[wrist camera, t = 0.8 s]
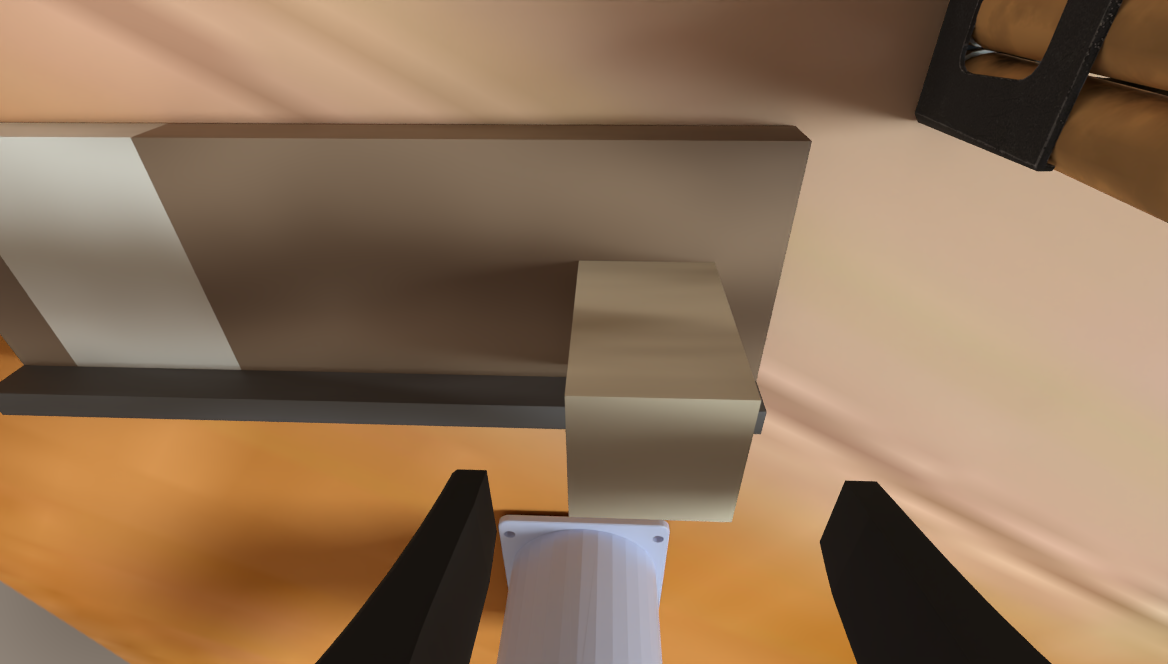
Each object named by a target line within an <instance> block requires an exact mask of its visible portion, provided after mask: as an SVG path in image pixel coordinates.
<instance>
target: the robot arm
mask: <svg viewBox="0 0 1168 664" xmlns="http://www.w3.org/2000/svg"><path fill="white" fill-rule="evenodd" d="M498 528H499V534H500V540H501V547H502V553H503V559H504V565H505V572H506V578H507V584H508V596H507V603H506V609H505V615H504V621H503V627H502V634H501V640H500V646H499V652H498V658H497V664H662V653H661V639H660V625H659V612H658V611H659V604H660V597H661V590H662V582H663V575H664V568H665V561H666V554H667V547H668V540H669V533H670V531H669V524H668V523H667V522H666V521H664V520H649V519H617V518H586V517H565V516H534V515H505V516H502V517H501V518H500V520H499V526H498ZM496 532H497V530H496V524H495V518H494V512H493V506H492V500H491V494H490V488H489V482H488V476H487V470H456V471H455V472H453V473H452V475H451V477H450V478H449V480H448V482H447V484H446V485H445V487H444V489H443V491H442V492H441V494H440V496H439V497H438V499H437V500H436V502H435V504H434V505H433V507H432V509H431V510H430V512H429V513H428V515H427V516H426V518H425V520H424V521H423V523H422V524H421V526H420V527H419V529H418V530H417V532H416V533H415V535H414V536H413V538H412V539H411V541H410V542H409V543H408V545H407V546H406V548H405V549H404V551H403V552H402V554H401V555H400V556H399V558H398V559H397V561H396V562H395V564H394V565H393V567H392V568H391V569H390V571H389V572H388V573H387V575H386V576H385V578H384V579H383V580H382V581H381V583H380V584H379V585H378V587H377V588H376V589H375V591H374V592H373V593H372V595H371V596H370V597H369V599H368V600H367V601H366V602H365V604H364V605H363V606H362V608H361V609H360V610H359V612H358V613H357V614H356V615H355V617H354V618H353V619H352V620H351V622H350V623H349V624H348V625H347V627H346V628H345V629H344V630H343V632H342V633H341V634H340V635H339V636H338V638H337V639H336V640H335V641H334V642H333V644H332V645H331V646H330V647H329V648H328V649H327V651H326V652H325V653H324V654H323V655H322V656H321V657H320V659H319V660H318V661H317V662H316V663H315V664H469V662H470V658H471V654H472V650H473V646H474V642H475V638H476V635H477V631H478V627H479V623H480V618H481V614H482V610H483V606H484V602H485V598H486V594H487V590H488V586H489V582H490V575H491V568H492V561H493V554H494V547H495V540H496ZM820 545H821V550H822V554H823V559H824V563H825V568H826V572H827V576H828V580H829V584H830V588H831V592H832V595H833V598H834V601H835V604H836V607H837V609H838V612H839V615H840V618H841V620H842V623H843V626H844V629H845V631H846V634H847V637H848V640H849V642H850V645H851V648H852V651H853V653H854V656H855V659H856V661H857V664H1051V663H1050V662H1049V661H1048V660H1047V659H1046V658H1045V657H1044V656H1043V655H1042V654H1040V653H1039V652H1038V651H1037V650H1036V649H1035V648H1034V647H1033V646H1032V645H1031V644H1030V643H1029V642H1028V641H1027V640H1026V639H1025V638H1024V637H1023V636H1022V635H1021V634H1020V633H1019V632H1018V631H1017V630H1016V629H1015V628H1014V627H1012V626H1011V625H1010V624H1009V623H1008V622H1007V621H1006V620H1005V619H1004V618H1003V617H1002V616H1001V615H1000V614H999V613H998V612H997V611H996V610H995V609H994V608H993V607H992V606H991V605H990V604H989V603H988V602H987V601H986V600H985V599H984V598H983V597H982V595H981V594H980V593H979V592H978V591H977V590H976V589H975V588H974V587H973V586H972V585H971V584H970V583H969V582H968V581H967V580H966V579H965V578H964V577H963V576H962V575H961V573H960V572H959V571H958V570H957V569H956V568H955V567H954V566H953V565H952V564H951V563H950V562H949V561H948V560H947V559H946V558H945V556H944V555H943V554H942V553H941V552H940V551H939V550H938V549H937V548H936V547H935V546H934V545H933V543H932V542H931V541H930V540H929V539H928V538H927V537H926V536H925V535H924V534H923V532H922V531H921V530H920V529H919V528H918V527H917V526H916V525H915V524H914V522H913V521H912V520H911V519H910V518H909V517H908V516H907V515H906V514H905V512H904V511H903V510H902V509H901V508H900V507H899V506H898V505H897V504H896V502H895V501H894V500H893V499H892V498H891V497H890V496H889V495H888V494H887V493H886V491H885V490H884V489H883V488H882V487H881V486H880V485H879V484H878V483H877V482H873V481H845V482H844V485H843V487H842V490H841V492H840V494H839V497H838V499H837V502H836V504H835V506H834V509H833V511H832V514H831V516H830V518H829V521H828V523H827V526H826V528H825V530H824V533H823V535H822V538H821V540H820Z"/></svg>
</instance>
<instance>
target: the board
mask: <svg viewBox="0 0 1168 664" xmlns="http://www.w3.org/2000/svg"><path fill="white" fill-rule="evenodd" d="M811 142H812V141H811V140H810V139H809V138H808V137H807V136H806V135H805V134H803V133H802V132H801V131H800V130H799V129H798V128H797V127H796V126H676V125H445V124H214V123H0V334H1V336H2V337H3V338H4V340H5V341H6V342H7V344H8V345H9V346H10V347H11V349H12V350H13V351H14V353H15V354H16V355H17V357H18V358H19V359H20V360H21V362H22V363H23V364H24V366H22V367H21V368H19V369H18V370H17V371H15V372H14V373H12V374H11V375H9V376H8V377H7V378H5V379H4V380H2V381H1V382H0V412H1V413H2V414H3V415H32V416H71V417H111V418H150V419H189V420H228V421H268V422H307V423H346V424H385V425H425V426H464V427H503V428H542V429H566V421H565V387H566V378H567V369H568V359H569V350H570V340H571V331H572V321H573V312H574V302H575V293H576V283H577V274H578V264H579V261H644V262H715V265H716V268H717V271H718V274H719V277H720V280H721V283H722V286H723V289H724V292H725V295H726V298H727V300H728V303H729V306H730V309H731V312H732V315H733V318H734V321H735V324H736V327H737V330H738V333H739V336H740V339H741V342H742V345H743V348H744V351H745V354H746V356H747V359H748V362H749V365H750V368H751V371H752V374H753V377H754V380H755V383H756V386H757V389H758V392H759V395H760V398H761V404H760V408H759V413H758V417H757V421H756V425H755V429H754V433H753V434H761V431H762V427H763V423H764V420H765V416H766V409H765V406H764V403H763V400H762V397H761V394H760V391H759V388H758V385H757V382H756V379H757V375H758V371H759V366H760V362H761V358H762V354H763V349H764V345H765V341H766V336H767V332H768V328H769V323H770V319H771V315H772V310H773V306H774V302H775V298H776V293H777V289H778V285H779V280H780V276H781V272H782V267H783V263H784V259H785V254H786V250H787V246H788V241H789V237H790V233H791V229H792V224H793V220H794V216H795V211H796V207H797V203H798V198H799V194H800V190H801V185H802V181H803V177H804V173H805V168H806V164H807V160H808V155H809V151H810V147H811Z"/></svg>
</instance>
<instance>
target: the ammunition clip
mask: <svg viewBox="0 0 1168 664" xmlns="http://www.w3.org/2000/svg"><path fill="white" fill-rule="evenodd" d="M1089 73H1093V74H1097V75H1101V76H1106V77H1110V78H1100V77H1092V76H1088V74H1089ZM915 115H916V118H917V121H918V122H919V123H922V124H924V125H926V126H929V127H931V128H934V129H936V130H939V131H941V132H943V133H946V134H948V135H951V136H953V137H955V138H958V139H960V140H963V141H965V142H968V143H970V144H972V145H975V146H977V147H980V148H982V149H985V150H987V151H989V152H992V153H994V154H997V155H999V156H1002V157H1004V158H1006V159H1009V160H1011V161H1014V162H1016V163H1018V164H1021V165H1023V166H1026V167H1028V168H1031V169H1033V170H1036V171H1053V169H1054V170H1056V171H1059V172H1061V173H1063V174H1065V175H1067V176H1069V177H1071V178H1073V179H1076V180H1078V181H1080V182H1082V183H1084V184H1086V185H1088V186H1090V187H1093V188H1095V189H1097V190H1099V191H1101V192H1103V193H1105V194H1107V195H1110V196H1112V197H1114V198H1116V199H1118V200H1120V201H1122V202H1125V203H1127V204H1129V205H1131V206H1133V207H1135V208H1137V209H1139V210H1142V211H1144V212H1146V213H1148V214H1150V215H1152V216H1154V217H1156V218H1159V219H1161V220H1163V221H1165V222H1167V223H1168V0H950V2H949V5H948V9H947V12H946V15H945V18H944V21H943V25H942V28H941V31H940V34H939V37H938V41H937V44H936V47H935V50H934V53H933V57H932V60H931V63H930V66H929V69H928V73H927V76H926V79H925V82H924V85H923V89H922V92H921V95H920V98H919V101H918V105H917V108H916V111H915Z"/></svg>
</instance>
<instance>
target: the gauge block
mask: <svg viewBox="0 0 1168 664" xmlns="http://www.w3.org/2000/svg"><path fill="white" fill-rule="evenodd" d="M760 404H761V398H760V395H759V392H758V389H757V386H756V383H755V380H754V377H753V374H752V371H751V368H750V365H749V362H748V359H747V356H746V354H745V351H744V348H743V345H742V342H741V339H740V336H739V333H738V330H737V327H736V324H735V321H734V318H733V315H732V312H731V309H730V306H729V303H728V300H727V298H726V295H725V292H724V289H723V286H722V283H721V280H720V277H719V274H718V271H717V268H716V265H715V262H644V261H579V264H578V274H577V283H576V293H575V302H574V312H573V321H572V331H571V340H570V350H569V359H568V369H567V378H566V387H565V421H566V449H567V477H568V505H569V517H586V518H617V519H649V520H681V521H712V522H732V518H733V514H734V510H735V506H736V502H737V498H738V494H739V490H740V486H741V482H742V478H743V473H744V469H745V465H746V461H747V457H748V453H749V449H750V445H751V441H752V437H753V433H754V429H755V425H756V421H757V417H758V413H759V408H760Z"/></svg>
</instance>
